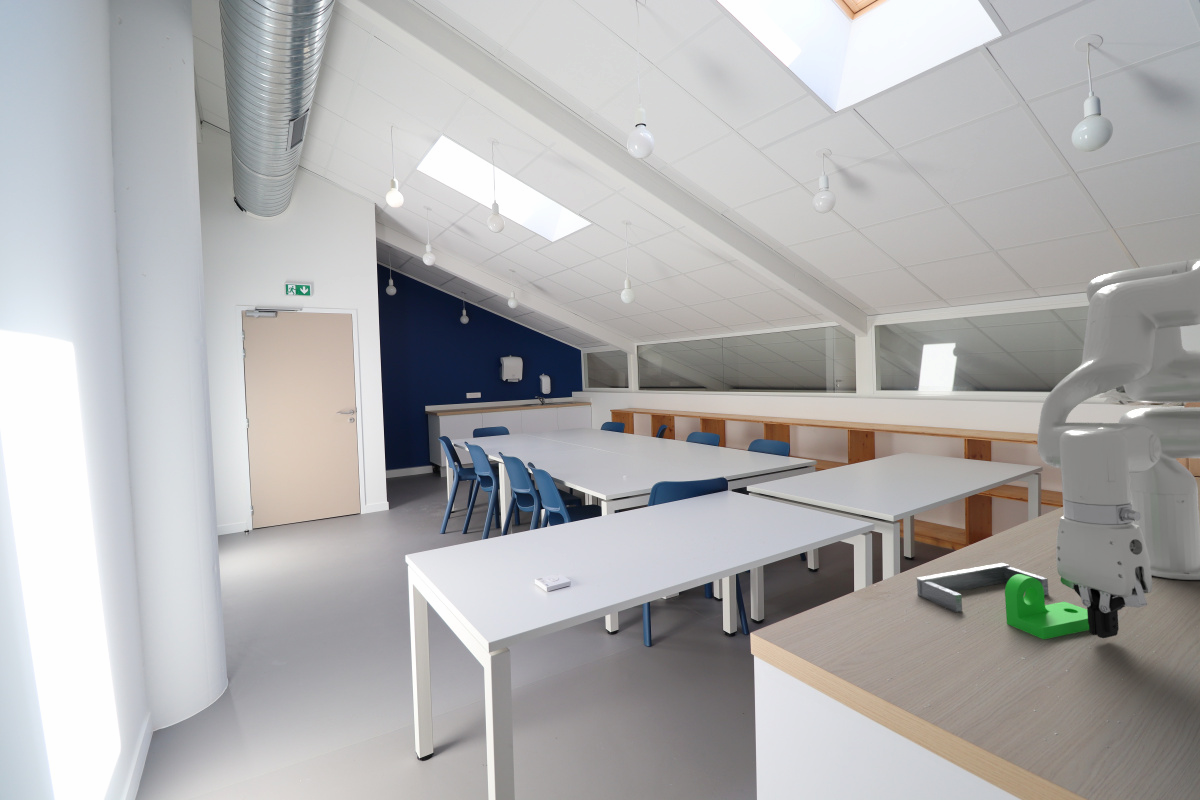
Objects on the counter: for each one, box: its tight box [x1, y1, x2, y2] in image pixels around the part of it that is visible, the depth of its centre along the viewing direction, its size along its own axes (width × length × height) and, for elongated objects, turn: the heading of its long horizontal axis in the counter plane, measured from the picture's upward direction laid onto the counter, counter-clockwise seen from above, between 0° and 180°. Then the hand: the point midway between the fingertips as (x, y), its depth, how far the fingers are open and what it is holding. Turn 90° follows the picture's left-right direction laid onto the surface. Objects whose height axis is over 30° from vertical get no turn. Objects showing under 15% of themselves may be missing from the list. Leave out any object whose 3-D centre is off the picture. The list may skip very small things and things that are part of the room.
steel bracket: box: [916, 562, 1049, 613], centre depth 101 cm, size 20×9×3 cm, turn 103°
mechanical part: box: [1004, 574, 1089, 640], centre depth 88 cm, size 12×6×8 cm, turn 102°
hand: (1103, 634), depth 81 cm, fingers closed
